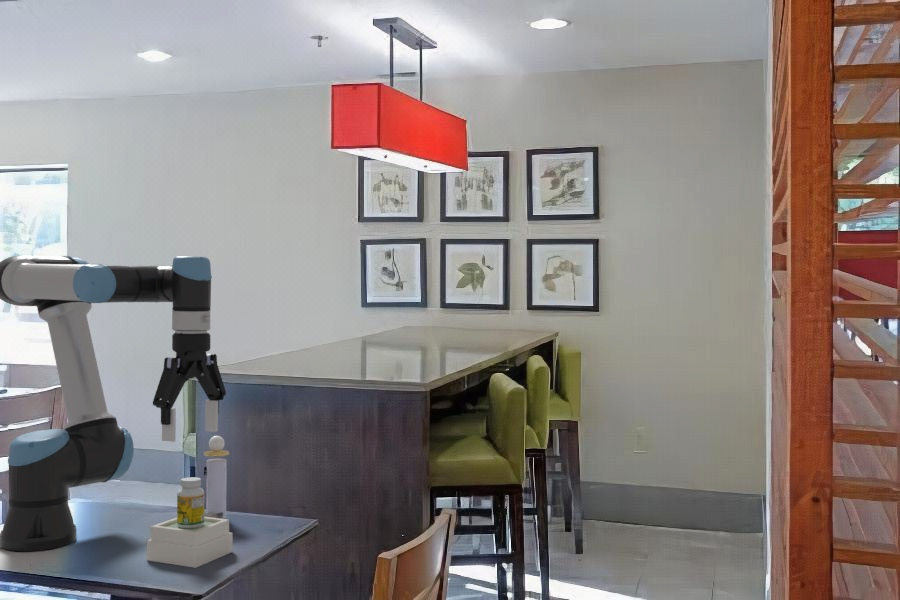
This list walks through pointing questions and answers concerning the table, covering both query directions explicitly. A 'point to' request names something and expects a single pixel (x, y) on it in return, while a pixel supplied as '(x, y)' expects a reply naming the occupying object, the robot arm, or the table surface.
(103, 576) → the table surface
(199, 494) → the supplement bottle
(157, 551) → the display pedestal
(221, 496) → the perfume bottle
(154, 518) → the table surface
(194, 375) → the robot arm
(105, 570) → the table surface
